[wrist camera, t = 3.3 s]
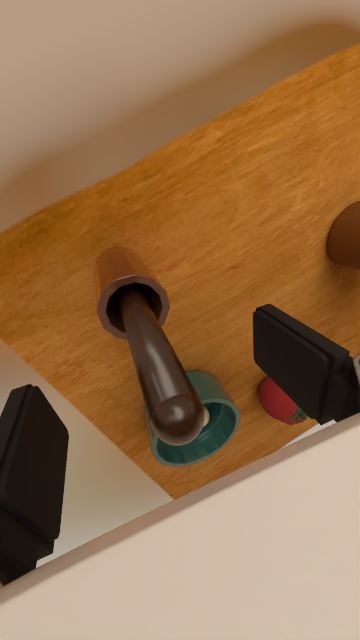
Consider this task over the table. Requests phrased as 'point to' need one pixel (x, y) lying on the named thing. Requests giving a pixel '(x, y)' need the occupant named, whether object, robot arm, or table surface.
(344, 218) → the mug
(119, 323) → the crock
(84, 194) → the table surface
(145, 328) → the stick
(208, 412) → the dough ball
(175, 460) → the bowl
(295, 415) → the tomato
